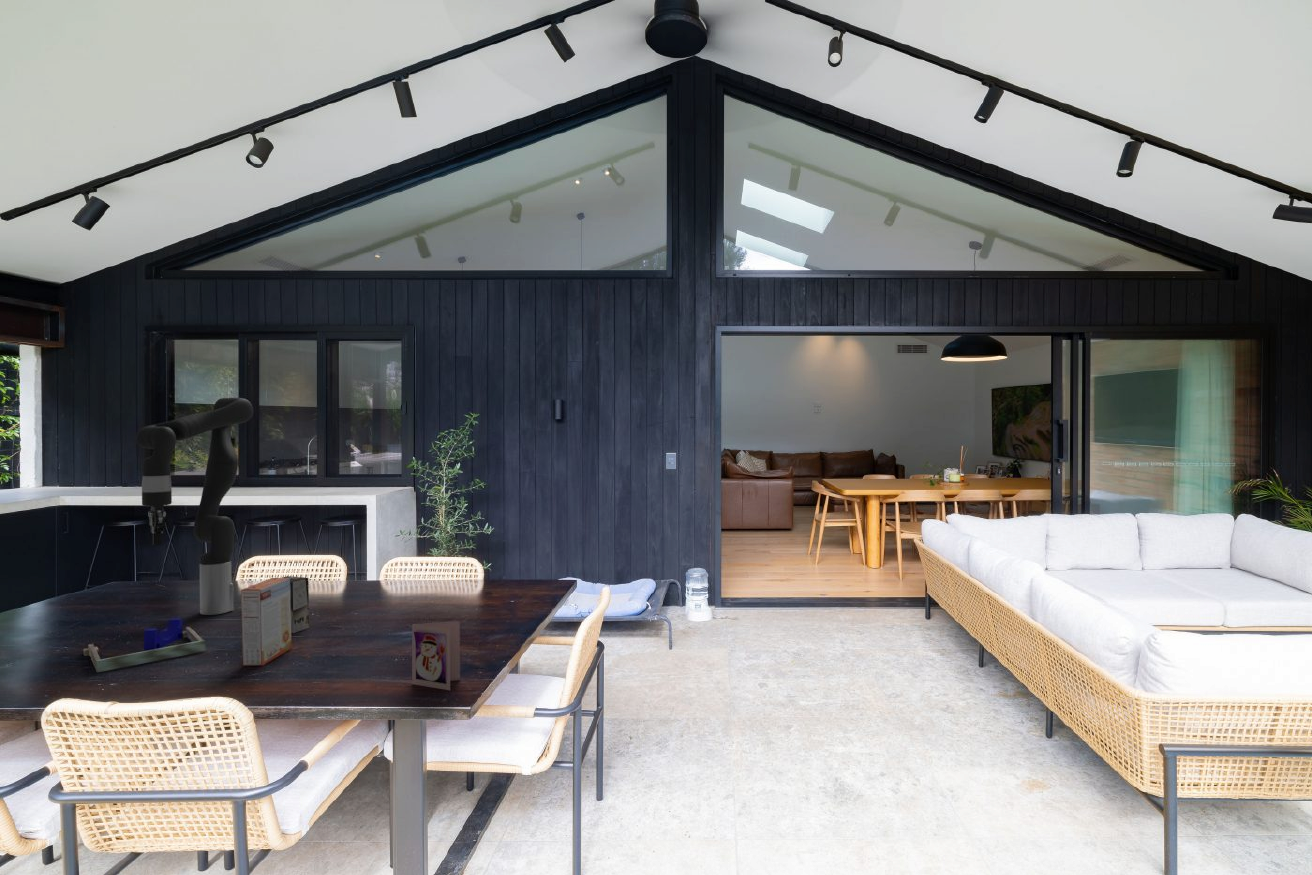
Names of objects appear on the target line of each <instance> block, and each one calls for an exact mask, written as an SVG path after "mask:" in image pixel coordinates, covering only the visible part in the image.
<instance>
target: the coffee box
mask: <svg viewBox="0 0 1312 875" xmlns="http://www.w3.org/2000/svg"><path fill="white" fill-rule="evenodd" d="M281 578H290V608H291V634H295V633H298V632H300V631H304V630H307V629H309V628H310V607H309V606H310V601H309V598H310V594H309V589H310V588H309V587H310V586H309V583H310V582H309V580H310V578H309V577H301V576H292V575H291V576H290V575H289V576H288V575H287V576H283V577H281Z"/></svg>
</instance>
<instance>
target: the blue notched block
mask: <svg viewBox="0 0 1312 875" xmlns="http://www.w3.org/2000/svg"><path fill="white" fill-rule="evenodd" d="M183 628H184V627H183V618H178V617H177V618H171V619H168V625H167V628H165V629H163V630H161V631H160V633H159V628H146V629H144V630H143V651H148V650H153V649H159V648H164V647H166V646H167V645H169V644H171V643H174V642H175V641H176V642H177V640H180V639H182V638H183V631H184V630H183Z"/></svg>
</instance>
